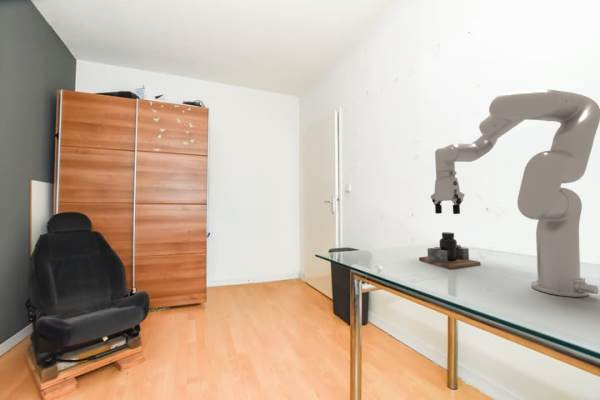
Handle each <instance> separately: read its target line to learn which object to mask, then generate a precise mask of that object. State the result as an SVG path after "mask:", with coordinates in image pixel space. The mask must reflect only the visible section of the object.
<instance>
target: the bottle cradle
mask: <svg viewBox="0 0 600 400" xmlns="http://www.w3.org/2000/svg"><path fill="white" fill-rule="evenodd" d="M469 249H470V248H468V247H462V246H461V244H457V260H456V261H448V259H447V251H446V250H441V249H440V246H434V247H429V248H427V256H421V257H418V261H420V262H423V263H426V264H431V265H433V266H436V267H440V268H443V269H447V270H456V269H457V270H459V269H465V268H472V267H479V266H481V261H478V260H473V259H470V253H469V251H470V250H469Z"/></svg>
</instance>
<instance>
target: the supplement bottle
mask: <svg viewBox="0 0 600 400" xmlns="http://www.w3.org/2000/svg"><path fill="white" fill-rule="evenodd" d="M457 245H458V242H457V240H456V239H455V232H448V231H447V232H445V231H444V232H441V238H440V239H439V247H440V249H441V250H446V251H447V259H448V261H456V260H457Z"/></svg>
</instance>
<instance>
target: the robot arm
mask: <svg viewBox="0 0 600 400" xmlns="http://www.w3.org/2000/svg"><path fill="white" fill-rule="evenodd" d="M488 110H489V111H488V112H489V116H487V117H486V118H484V120H482V121H481V122H480V123H479V126H478V127H479V128H478V129H479V131H480V133H481V134H482V135H481V136H480V137H478V138H477V139H476V140H474V141H473V142H472V143H451V144H449V145H447V146H445V147H439V148H437V149H436V150H434V156H435V157H434V161H435V177H436V179H435V183H434V193H432V194H431V195H430V198H431V201H432V203H433V205H434V208H435V209H434V212H435V214H442V213H443V209H442V202H443V201H444V202H445V201H451V202H452V214H453V215H460V214H461V208H460V207H461V206H460V205H462V202H463V201H464V197H465V193H463V192H461V191H460V184H459V180H458V178H457V177H456V175H457V171H456V169H455V168H456V165H455V162H456V163H460V162H461V163H462V162H463V163H465V162H466V163H468V162H469V163H471V162H474V161H477V160H478V159H480V158H482V157H483V156H485V155H486V154H487V153H489V152H490V151H491V150H492V149H493V148H494V147H495V146H496V144H497V142H498V139H499V138H501V137H502V136H503V135H505V134H507V133H508V132H509V131H511V130H512V129H514V128H515V127H516V126H518V125H519V124H521V123H523V122H524V121H525V120H528V121H529V120H531V121H532V120H533V121H545V122H556V123H559V124H560V126H559V127H558V128H557V129H556V131H555V133H554V135H553V138H552V142H551V146H550V149H549V150H545V151H541V152H538V153H536V154H534V155H533V156H532V157H531V158H530V159H529V160H528V162H527V163H526V165H525V167H524V170H523V175H522V179H521V183H520V187H519V191H518V197H517V208H518V211H519V212H520V214H521V215H523V216H524V217H525V218H527V219H530V220H534V221H536V220H537V225H536V230H535V231H536V233H535V236H536V238H535V239H536V241H535V242H536V244H535V245H536V266H537V267H536V268H537V280H533V281H531V282H530V284H531V285H530V286H531V287H532V288H533V289H535V290H536V291H540V292H543V293H546V294H549V295H556V296H562V297H569V298H571V297H573V298H581V297H583V298H584V297H588V296H589V294H593V295H597V294H599V288H598V286H597V285H595V284H589V283H587V282H586V278H584V277H583V278H582V277H581V262H580V261H581V259H580V257H581V255H580V221H581V215H582V207H583V205H582V204H583V203H582V200H581V197H580V196H579V194H577V193H576V192H575V191H573V190H572V189H569V188H566V187H561V186H562V184H570V183H574V182H575V183H576V182H577V181H579V180H581V178H582V177H583V176H584V175H585V173H586V170H587V166H588V163H589V159H590V156H591V152H592V149H593V146H594V145H593V144H594V140H595V137H596V135H597V130H598V127H599V125H600V106H599V104H598V103H597V102H596V101H595V100H594V99H593V98H591V97H589V96H586V95H583V94H580V93H575V92H571V91H570V92H569V91H562V90H558V89H557V90H556V89H549V88H548V89H544V88H543V89H533V90H532V89H531V90H520V91H517V90H516V91H507V92H504V93H501V94H499V95H497V96H496V97H494V98H493V100H492V101H491V103H490V104H489V107H488Z"/></svg>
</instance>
